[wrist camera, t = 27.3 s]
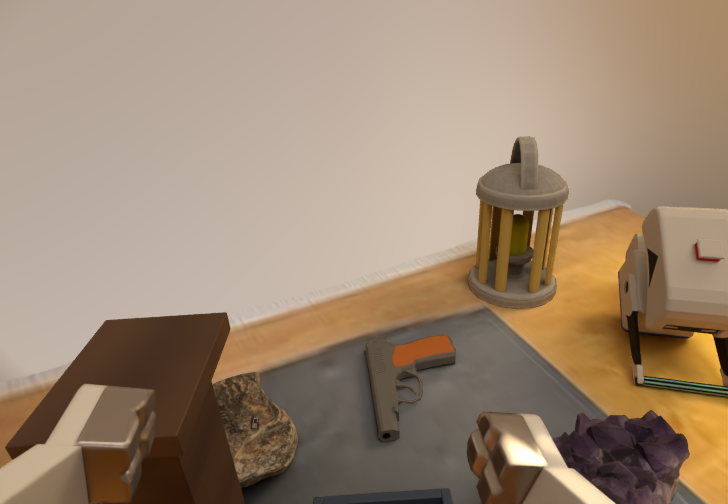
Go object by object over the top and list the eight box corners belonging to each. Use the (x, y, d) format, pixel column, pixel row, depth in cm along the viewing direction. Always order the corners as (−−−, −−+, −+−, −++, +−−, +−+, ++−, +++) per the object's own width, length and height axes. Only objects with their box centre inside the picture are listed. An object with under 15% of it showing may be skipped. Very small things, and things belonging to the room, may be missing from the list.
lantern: (465, 263, 84) (473, 127, 73) (545, 265, 82) (566, 125, 71) (470, 307, 72) (480, 151, 60) (565, 310, 70) (594, 149, 58)
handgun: (484, 429, 51) (377, 442, 50) (447, 340, 65) (363, 350, 64) (485, 418, 50) (377, 431, 49) (447, 330, 64) (363, 339, 63)
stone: (314, 475, 43) (226, 428, 39) (245, 544, 45) (154, 505, 41) (304, 386, 55) (237, 344, 52) (251, 442, 57) (182, 405, 53)
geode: (586, 421, 51) (618, 358, 46) (695, 510, 43) (749, 446, 38) (454, 522, 41) (475, 456, 36) (564, 661, 33) (612, 603, 28)
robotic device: (613, 399, 63) (668, 362, 46) (606, 261, 73) (650, 188, 55) (699, 411, 61) (792, 377, 43) (680, 267, 70) (751, 192, 53)
